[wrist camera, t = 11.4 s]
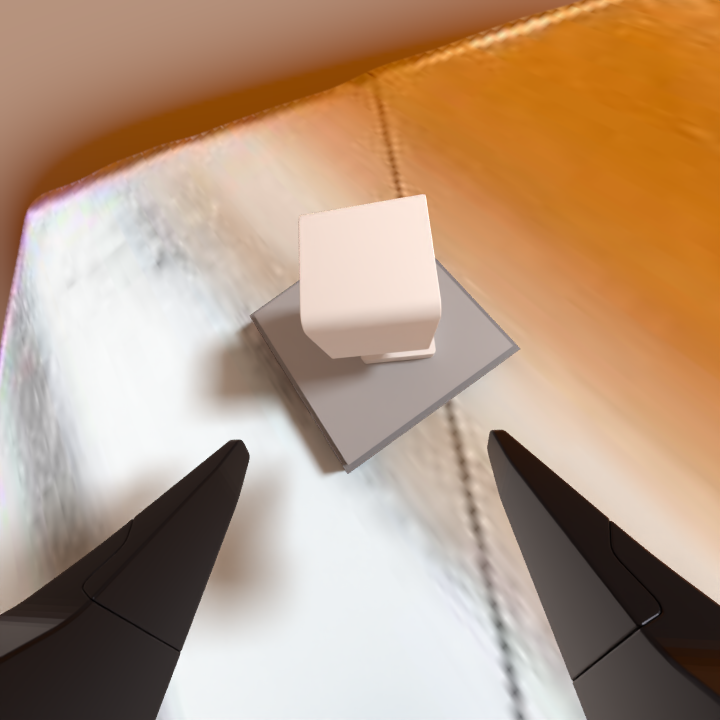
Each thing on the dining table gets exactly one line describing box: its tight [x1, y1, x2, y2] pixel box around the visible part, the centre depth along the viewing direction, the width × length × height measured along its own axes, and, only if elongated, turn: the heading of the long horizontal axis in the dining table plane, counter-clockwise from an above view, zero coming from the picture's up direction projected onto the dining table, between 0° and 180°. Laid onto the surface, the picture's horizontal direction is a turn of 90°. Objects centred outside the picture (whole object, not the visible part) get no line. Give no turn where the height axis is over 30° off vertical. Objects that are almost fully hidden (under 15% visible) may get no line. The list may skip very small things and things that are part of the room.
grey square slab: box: [250, 258, 520, 474], centre depth 23 cm, size 16×16×3 cm
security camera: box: [299, 194, 441, 364], centre depth 17 cm, size 6×7×10 cm
